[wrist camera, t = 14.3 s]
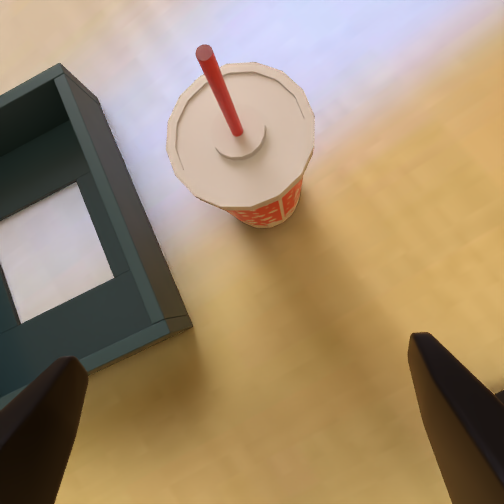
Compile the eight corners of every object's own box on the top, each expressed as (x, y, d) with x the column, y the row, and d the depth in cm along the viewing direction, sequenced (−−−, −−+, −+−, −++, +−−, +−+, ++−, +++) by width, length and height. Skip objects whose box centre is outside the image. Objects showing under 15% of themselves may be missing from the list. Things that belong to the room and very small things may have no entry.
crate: (193, 326, 23) (170, 333, 19) (-1, 417, 25) (-59, 441, 21) (96, 96, 26) (59, 61, 22) (-73, 188, 27) (-137, 171, 23)
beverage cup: (278, 129, 24) (241, -94, 10) (331, 205, 23) (369, 73, 9) (200, 181, 24) (61, 34, 11) (248, 258, 23) (164, 208, 9)
